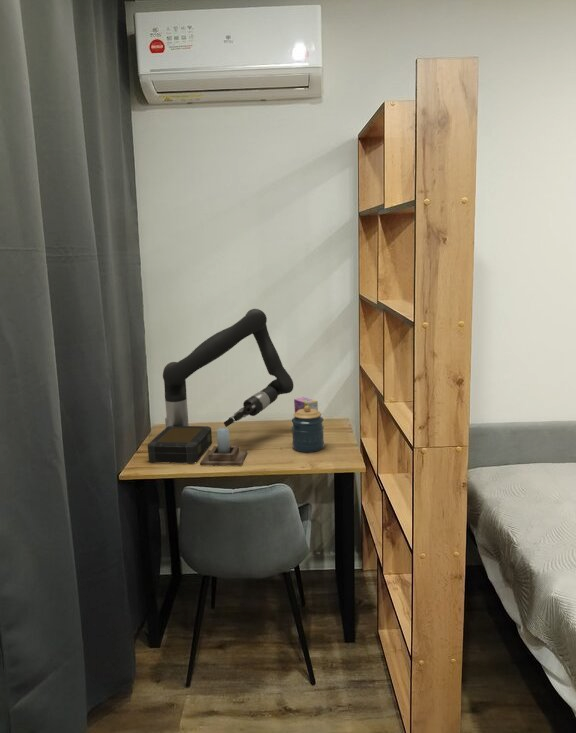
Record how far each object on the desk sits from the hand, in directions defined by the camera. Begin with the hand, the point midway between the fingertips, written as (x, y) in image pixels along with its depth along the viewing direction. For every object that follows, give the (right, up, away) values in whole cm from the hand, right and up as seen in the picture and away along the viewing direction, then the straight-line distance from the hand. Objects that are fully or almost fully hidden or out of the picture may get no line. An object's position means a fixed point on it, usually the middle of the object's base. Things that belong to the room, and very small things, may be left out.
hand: (229, 421), depth 247 cm
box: (+32, -4, +32) cm, 46 cm away
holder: (-1, -14, -9) cm, 16 cm away
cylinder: (-1, -13, -9) cm, 15 cm away
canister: (+32, -11, +2) cm, 34 cm away
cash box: (-20, -13, +2) cm, 24 cm away
